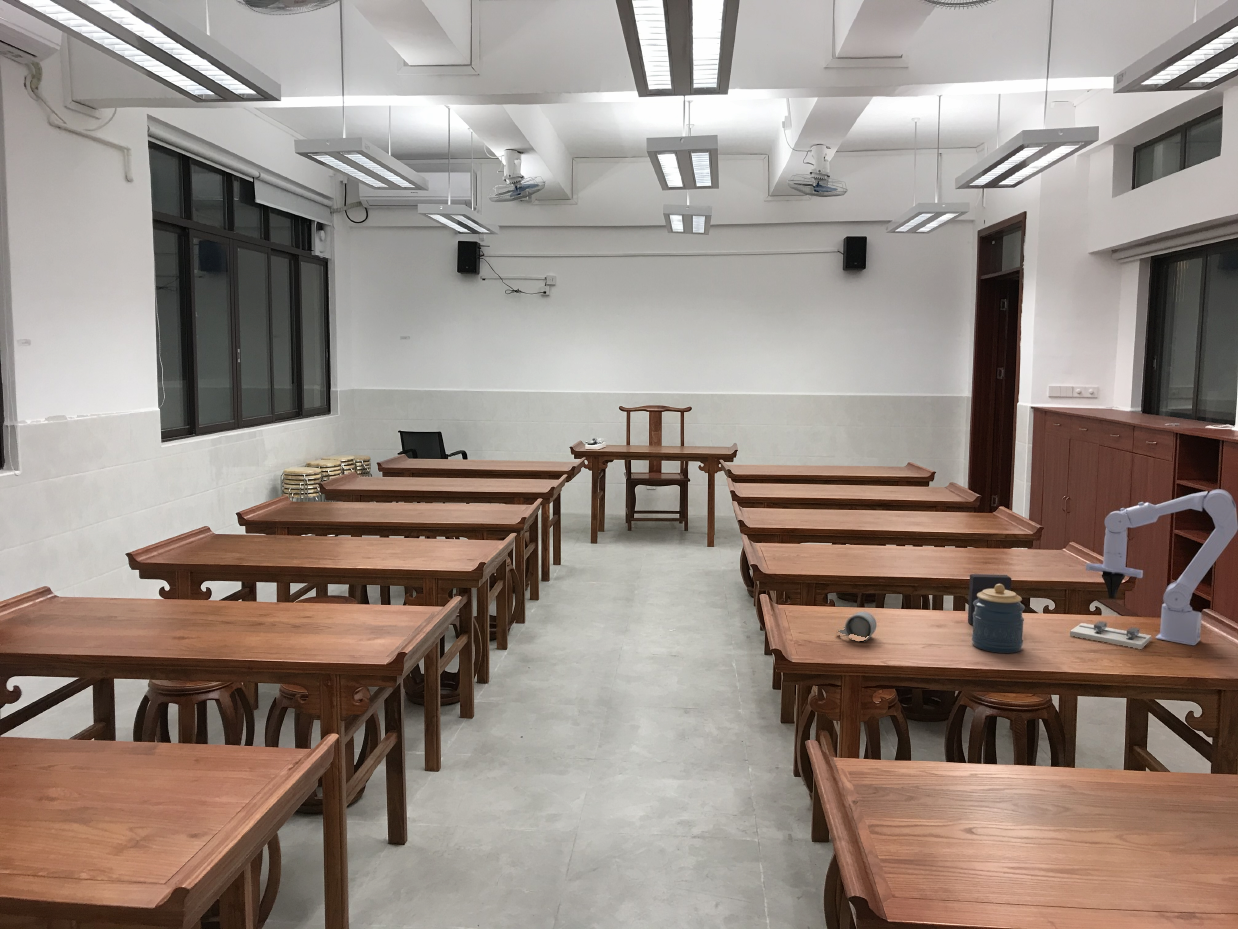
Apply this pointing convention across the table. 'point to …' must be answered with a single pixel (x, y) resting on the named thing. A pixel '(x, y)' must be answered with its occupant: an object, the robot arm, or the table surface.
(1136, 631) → the fixed point
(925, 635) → the table surface
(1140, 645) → the board
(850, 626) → the ceramic mug
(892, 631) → the table surface
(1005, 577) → the calculator
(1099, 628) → the block
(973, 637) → the canister
